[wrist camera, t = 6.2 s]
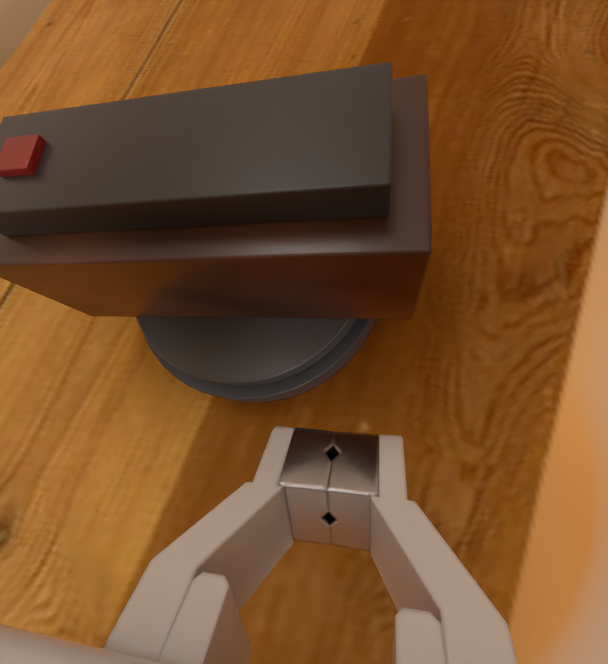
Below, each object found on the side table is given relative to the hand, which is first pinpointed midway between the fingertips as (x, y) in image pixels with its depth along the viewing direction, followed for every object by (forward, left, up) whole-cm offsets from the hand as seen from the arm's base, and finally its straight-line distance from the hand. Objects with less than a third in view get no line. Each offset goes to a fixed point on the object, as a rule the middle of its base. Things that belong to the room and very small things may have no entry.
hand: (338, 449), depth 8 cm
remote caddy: (+7, +5, -5) cm, 10 cm away
